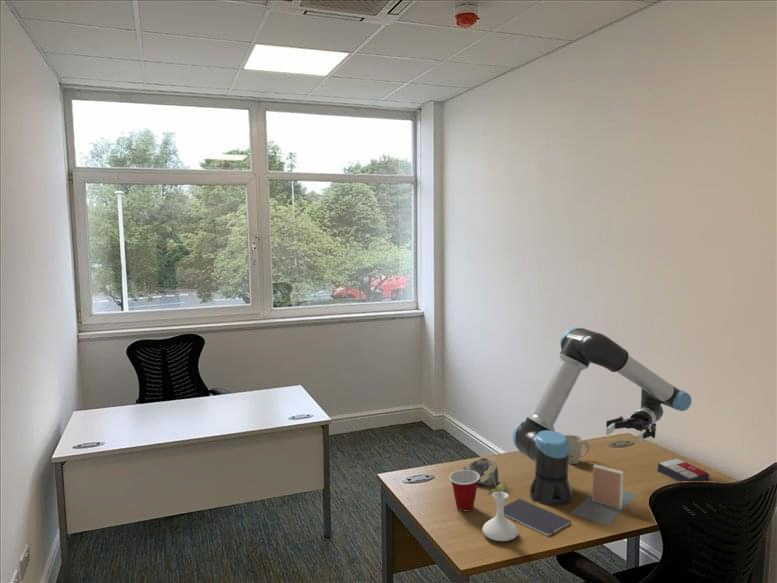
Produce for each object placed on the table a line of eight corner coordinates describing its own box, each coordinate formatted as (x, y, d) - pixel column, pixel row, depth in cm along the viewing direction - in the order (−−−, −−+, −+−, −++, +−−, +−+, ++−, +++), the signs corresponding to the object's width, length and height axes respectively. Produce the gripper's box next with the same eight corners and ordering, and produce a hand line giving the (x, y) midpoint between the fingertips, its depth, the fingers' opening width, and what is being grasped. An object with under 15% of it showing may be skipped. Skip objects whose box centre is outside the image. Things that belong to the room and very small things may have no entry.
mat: (570, 515, 202) (570, 513, 202) (602, 486, 224) (602, 484, 224) (607, 527, 194) (608, 525, 193) (637, 496, 215) (637, 494, 215)
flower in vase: (502, 523, 197) (503, 451, 194) (525, 539, 187) (526, 463, 184) (471, 533, 191) (471, 459, 188) (493, 550, 181) (493, 472, 178)
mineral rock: (459, 479, 231) (459, 455, 230) (478, 472, 238) (478, 448, 236) (484, 491, 221) (484, 465, 220) (502, 483, 228) (503, 458, 226)
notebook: (570, 525, 196) (519, 502, 213) (570, 520, 196) (519, 498, 212) (548, 538, 188) (496, 513, 205) (548, 533, 188) (496, 509, 204)
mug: (557, 458, 250) (557, 436, 249) (582, 455, 254) (582, 432, 253) (568, 466, 242) (569, 443, 241) (594, 462, 246) (595, 439, 245)
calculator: (690, 477, 223) (657, 461, 236) (689, 488, 224) (656, 471, 237) (710, 472, 227) (677, 456, 241) (709, 482, 228) (676, 466, 241)
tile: (591, 500, 211) (592, 466, 209) (594, 498, 213) (595, 464, 211) (619, 509, 204) (621, 473, 203) (622, 506, 206) (623, 471, 205)
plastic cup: (443, 503, 211) (443, 472, 210) (470, 498, 215) (470, 467, 214) (457, 517, 201) (457, 484, 200) (485, 511, 205) (485, 479, 204)
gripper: (673, 435, 226) (655, 452, 209) (613, 422, 241) (591, 437, 225) (674, 416, 225) (656, 431, 209) (613, 404, 240) (592, 418, 224)
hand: (622, 434), depth 217 cm, fingers open, 11 cm apart
